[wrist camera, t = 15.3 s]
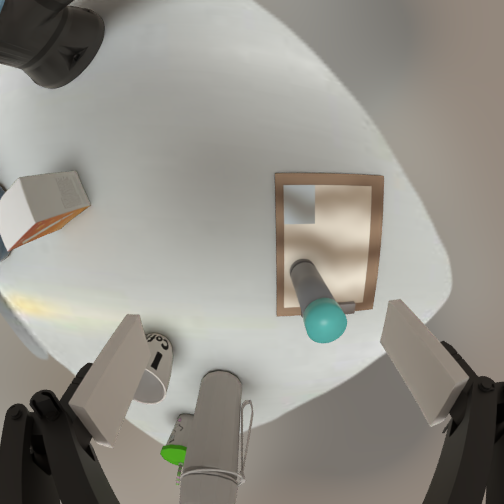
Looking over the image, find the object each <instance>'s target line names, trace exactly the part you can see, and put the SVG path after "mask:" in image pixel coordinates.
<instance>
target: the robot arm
mask: <svg viewBox="0 0 504 504" xmlns="http://www.w3.org/2000/svg"><path fill="white" fill-rule="evenodd" d="M73 1H74V0H0V64H4V65H8V66H12V67H15V68H19V69H22V70H23V71H24V72H25V73H26V74H27V75H28V76H29V77H31V79H32V80H33V81H34V82H35V83H36V84H37V85H39V86H42V87H46V88H51V89H53V88H58V87H61V86H63V85H65V84H67V83H69V82H70V81H72V80H73V79H74V78H76V77H77V76H78V75H79V74H80V73H81V72H82V71H83V70H84V69H85V68H86V67H87V66H88V64H89V63H90V62H91V60H92V59H93V57H94V56H95V54H96V53H97V51H98V49H99V47H100V45H101V42H102V39H103V35H104V23H103V20H102V19H101V17H100V16H99V15H97V14H96V13H95V12H94V11H92V10H89V9H84V8H79V7H74V6H68V5H69V4H70V3H71V2H73ZM380 343H381V344H382V346H383V347H384V349H385V351H386V352H387V354H388V355H389V357H390V358H391V360H392V362H393V363H394V365H395V367H396V368H397V370H398V372H399V373H400V375H401V377H402V378H403V380H404V382H405V383H406V385H407V387H408V388H409V390H410V392H411V393H412V395H413V397H414V398H415V400H416V402H417V404H418V406H419V407H420V409H421V411H422V413H423V415H424V416H425V418H426V420H427V422H428V423H429V425H430V427H431V426H434V425H436V424H438V423H441V422H443V421H444V420H445V418H446V417H447V415H448V414H449V413H450V415H451V417H452V418H451V420H450V421H449V423H448V424H447V426H446V427H445V428H444V430H443V432H442V433H445V431H446V430H447V429H448V430H447V434H446V438H445V441H444V445H443V448H442V452H441V455H440V458H439V462H438V465H437V468H436V471H435V473H434V476H433V479H432V482H431V484H430V487H429V490H428V492H427V494H426V497H425V499H424V501H423V503H422V504H482V500H483V497H484V493H485V489H486V504H504V382H497V383H495V382H494V381H493V380H492V379H490V378H488V377H485V376H480V377H478V376H477V375H476V374H475V372H474V371H473V370H472V369H471V368H470V366H469V365H468V364H467V363H466V362H465V360H464V359H462V357H461V356H460V355H459V354H457V351H456V350H455V349H454V348H453V347H452V346H451V345H449V344H448V343H446V342H445V341H442V342H439V341H438V340H437V338H436V337H435V336H434V335H433V334H432V333H431V332H430V331H429V329H428V328H427V327H426V326H425V325H424V324H423V323H422V322H421V320H420V319H419V318H418V317H417V316H416V315H415V314H414V313H413V312H412V311H411V310H410V309H409V308H408V307H407V305H406V304H405V303H404V302H403V301H402V300H401V299H398V300H391V301H389V303H388V308H387V313H386V318H385V323H384V327H383V332H382V336H381V340H380ZM150 357H151V353H150V349H149V346H148V343H147V340H146V336H145V333H144V330H143V326H142V323H141V319H140V315H132V314H127V315H126V316H125V318H124V319H123V320H122V322H121V323H120V325H119V326H118V328H117V329H116V330H115V332H114V333H113V335H112V336H111V338H110V339H109V341H108V342H107V344H106V345H105V346H104V348H103V349H102V351H101V352H100V354H99V355H98V357H97V358H96V360H95V362H94V363H87V364H86V365H85V366H83V367H82V368H81V369H80V370H79V372H78V373H77V375H76V378H74V379H73V381H72V384H70V386H69V387H68V389H67V390H66V392H65V393H64V395H63V396H62V398H61V400H60V401H59V400H58V398H57V397H56V395H55V394H54V393H53V392H52V391H50V390H41V391H39V392H37V393H35V394H34V395H33V396H32V398H31V400H30V406H31V407H32V409H33V410H34V412H29V411H28V409H27V408H26V407H25V406H24V405H23V404H14V405H12V406H11V407H10V408H9V409H8V410H7V413H6V416H5V421H4V427H3V431H2V437H1V444H0V504H60V500H61V503H62V504H120V503H119V501H118V499H117V498H116V496H115V494H114V492H113V490H112V488H111V486H110V484H109V482H108V480H107V478H106V476H105V474H104V472H103V470H102V468H101V465H100V463H99V461H98V459H97V456H96V454H95V451H94V449H93V447H92V445H91V444H90V441H91V438H92V437H93V438H94V440H95V441H96V442H97V443H98V444H99V445H103V446H107V447H111V448H113V447H114V444H115V441H116V439H117V436H118V434H119V431H120V428H121V426H122V423H123V421H124V418H125V416H126V413H127V411H128V409H129V406H130V404H131V401H132V399H133V396H134V394H135V392H136V389H137V387H138V385H139V382H140V380H141V378H142V375H143V373H144V371H145V369H146V366H147V364H148V362H149V359H150Z"/></svg>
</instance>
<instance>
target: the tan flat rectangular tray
mask: <svg viewBox="0 0 504 504" xmlns="http://www.w3.org/2000/svg"><path fill="white" fill-rule="evenodd" d="M383 196H384V176H377V175H359V174H331V173H275V202H276V262H277V316H295V315H301V316H302V317H303V314H302V311H301V308H300V305H299V302H298V298H297V295H296V292H295V289H294V286H293V283H292V280H291V277H290V267H291V265H292V264H293V263H294V262H295V261H297V260H299V259H308V260H310V261H311V262H312V263H313V264H314V265H315V267H316V269H317V270H318V272H319V274H320V275H321V277H322V279H323V280H324V282H325V284H326V285H327V287H328V289H329V290H330V292H331V294H332V296H333V297H334V299H335V301H336V302H337V303H338V304H339V306H340V307H341V309H342V311H343V312H344V314H352V313H354V311H359V310H369V309H373V303H374V296H375V290H376V282H377V275H378V266H379V257H380V247H381V235H382V220H383Z"/></svg>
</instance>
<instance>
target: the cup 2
mask: <svg viewBox="0 0 504 504" xmlns="http://www.w3.org/2000/svg"><path fill="white" fill-rule="evenodd" d="M193 417H194V415H191V414H181V415H180V416H179V418H178V420H177V422H176V425H175V427H174V429H173V431H172V433H171V435H170V437H169V440H168V442H167V444H166V446H163V448H162V450H161V453H160V454H161V455H162V457H163V458H164V459H165V460H167V461H169V462H170V463H172V464H175V465H178V466H179V469H178V474H177V481H176V485H179V480H180V474H181V469H182V467H183V465H184V460H185V455H186V450H187V446H188V441H189V436H190V431H191V427H192V422H193Z"/></svg>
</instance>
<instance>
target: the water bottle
mask: <svg viewBox="0 0 504 504" xmlns="http://www.w3.org/2000/svg"><path fill="white" fill-rule="evenodd" d="M241 391H242V384H241V383H240V381H239V380H238V378H237V377H236V376H234V375H232V374H230V373H228V372H223V371H216V372H212V373H208V374H207V375H206V376H205V377H204V378H203V379H202V381H201V386H200V390H199V395H198V399H197V404H196V408H195V413H194V417H193V422H192V427H191V431H190V436H189V441H188V446H187V450H186V455H185V460H184V465H183V474H181V476H180V481H181V488H180V504H235V502H236V496H237V490H238V487H239V486H240V485H242V484H243V483H244V482H245V476H244V472H243V471H244V466H245V460H246V455H247V449H248V443H249V437H250V431H251V426H252V420H253V407H252V402H251V400H245V401H244V402H243V404H242V407H241ZM246 404H251V408H252V414H251V420H250V426H249V432H248V439H247V445H246V451H245V457H244V463H243V408H244V407H245V405H246ZM240 410H241V471H240V474H238V473H237V469H238V450H239V430H240ZM237 476H239V477H240V481H241V482H240V483H239V484H237V481H236V479H237Z"/></svg>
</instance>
